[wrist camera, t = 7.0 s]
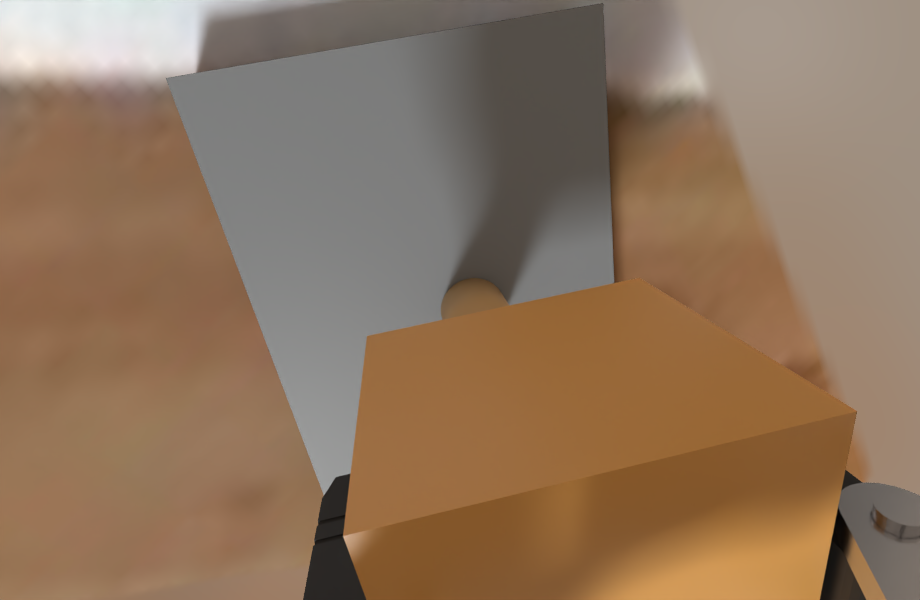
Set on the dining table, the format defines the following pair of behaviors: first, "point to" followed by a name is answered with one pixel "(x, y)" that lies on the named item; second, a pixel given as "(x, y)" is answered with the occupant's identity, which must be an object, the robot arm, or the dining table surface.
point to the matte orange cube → (590, 458)
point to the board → (404, 191)
